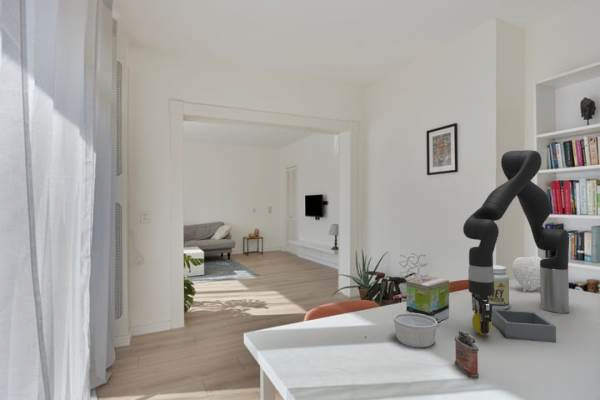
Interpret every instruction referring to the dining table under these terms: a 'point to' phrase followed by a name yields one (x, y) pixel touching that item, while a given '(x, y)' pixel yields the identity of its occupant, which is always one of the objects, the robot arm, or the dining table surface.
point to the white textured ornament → (527, 272)
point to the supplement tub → (500, 289)
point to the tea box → (428, 297)
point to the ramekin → (415, 329)
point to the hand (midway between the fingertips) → (481, 329)
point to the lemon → (478, 323)
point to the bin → (523, 325)
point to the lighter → (466, 354)
